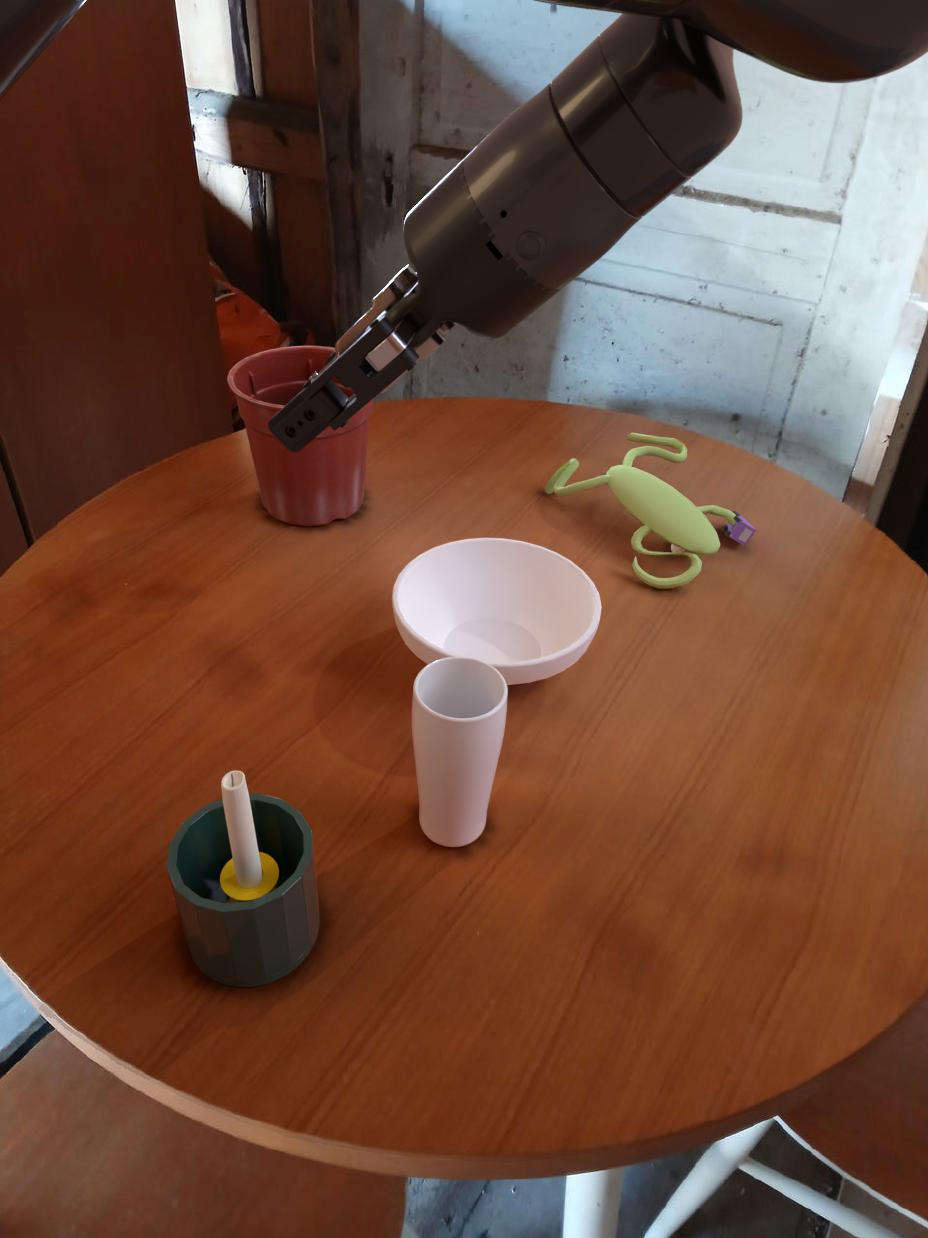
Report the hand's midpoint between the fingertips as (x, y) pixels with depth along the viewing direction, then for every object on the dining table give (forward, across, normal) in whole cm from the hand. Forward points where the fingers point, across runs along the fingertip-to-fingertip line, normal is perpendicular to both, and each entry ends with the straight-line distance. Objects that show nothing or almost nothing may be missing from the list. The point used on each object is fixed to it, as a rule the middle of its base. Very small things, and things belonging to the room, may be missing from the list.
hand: (310, 404), depth 52 cm
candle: (+25, +13, +23) cm, 36 cm away
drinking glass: (+18, 0, +32) cm, 36 cm away
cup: (+26, +13, +24) cm, 37 cm away
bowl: (+19, -21, +31) cm, 42 cm away
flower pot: (+38, -42, +12) cm, 58 cm away
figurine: (+10, -51, +40) cm, 65 cm away
